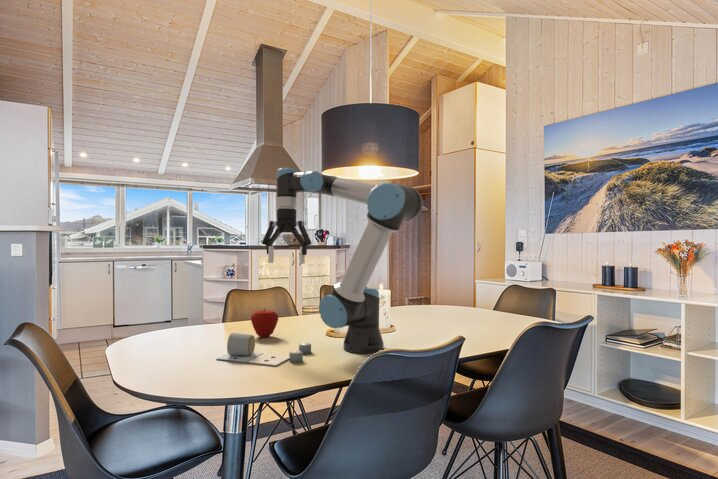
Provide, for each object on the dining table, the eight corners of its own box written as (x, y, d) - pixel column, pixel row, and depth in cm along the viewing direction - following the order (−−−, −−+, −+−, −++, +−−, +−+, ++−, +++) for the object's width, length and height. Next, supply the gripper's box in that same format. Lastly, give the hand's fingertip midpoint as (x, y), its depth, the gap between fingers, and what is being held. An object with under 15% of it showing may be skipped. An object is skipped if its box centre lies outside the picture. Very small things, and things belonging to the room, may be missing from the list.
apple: (283, 336, 187) (283, 307, 187) (265, 341, 178) (265, 311, 178) (264, 333, 193) (264, 305, 193) (245, 337, 184) (245, 308, 184)
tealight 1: (304, 360, 151) (304, 350, 151) (298, 364, 147) (298, 354, 147) (293, 359, 153) (293, 349, 153) (287, 362, 148) (287, 352, 148)
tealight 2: (313, 352, 162) (313, 343, 162) (307, 355, 158) (307, 345, 158) (302, 351, 164) (302, 342, 164) (296, 353, 160) (296, 344, 160)
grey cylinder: (250, 358, 151) (250, 335, 151) (226, 357, 151) (226, 335, 151) (258, 350, 162) (258, 329, 162) (235, 350, 162) (236, 329, 162)
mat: (292, 357, 154) (292, 356, 154) (276, 366, 143) (276, 365, 143) (236, 351, 162) (236, 350, 162) (216, 360, 151) (216, 358, 151)
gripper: (320, 208, 171) (319, 263, 172) (263, 209, 180) (263, 261, 180) (311, 207, 164) (311, 264, 165) (253, 208, 173) (253, 262, 173)
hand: (286, 263), depth 172 cm, fingers open, 13 cm apart
